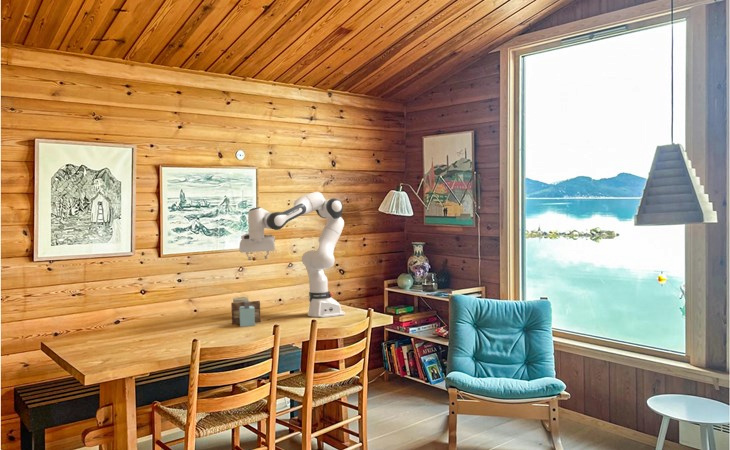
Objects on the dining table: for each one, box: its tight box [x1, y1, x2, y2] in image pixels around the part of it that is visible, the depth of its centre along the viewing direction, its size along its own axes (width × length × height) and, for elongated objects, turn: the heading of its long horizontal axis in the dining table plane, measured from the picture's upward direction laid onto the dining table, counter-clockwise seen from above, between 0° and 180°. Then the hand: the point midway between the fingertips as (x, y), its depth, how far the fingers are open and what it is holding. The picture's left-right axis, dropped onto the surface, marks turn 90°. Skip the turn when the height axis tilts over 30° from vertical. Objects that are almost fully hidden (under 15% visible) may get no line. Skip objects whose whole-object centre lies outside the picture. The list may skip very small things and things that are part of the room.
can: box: [232, 296, 249, 303], centre depth 352 cm, size 9×9×12 cm
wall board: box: [230, 300, 261, 325], centre depth 334 cm, size 16×6×12 cm, turn 105°
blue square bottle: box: [239, 300, 256, 328], centre depth 329 cm, size 8×9×14 cm
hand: (257, 259), depth 338 cm, fingers open, 8 cm apart
